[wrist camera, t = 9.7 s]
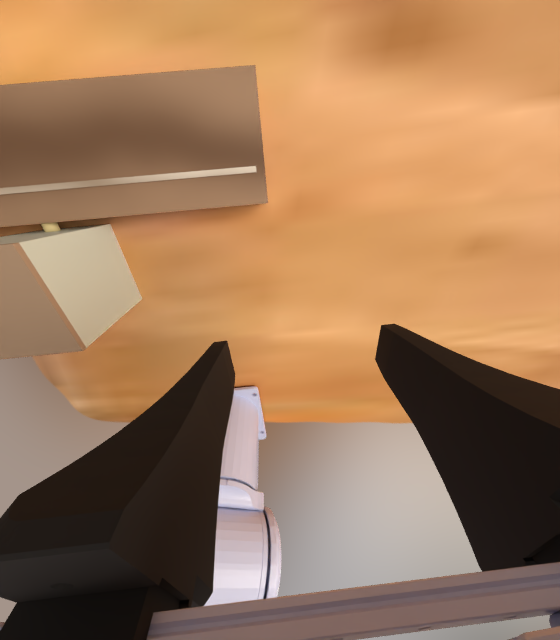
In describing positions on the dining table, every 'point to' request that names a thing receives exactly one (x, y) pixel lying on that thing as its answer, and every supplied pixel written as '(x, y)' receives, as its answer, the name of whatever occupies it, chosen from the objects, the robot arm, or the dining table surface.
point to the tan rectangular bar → (130, 145)
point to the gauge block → (61, 289)
